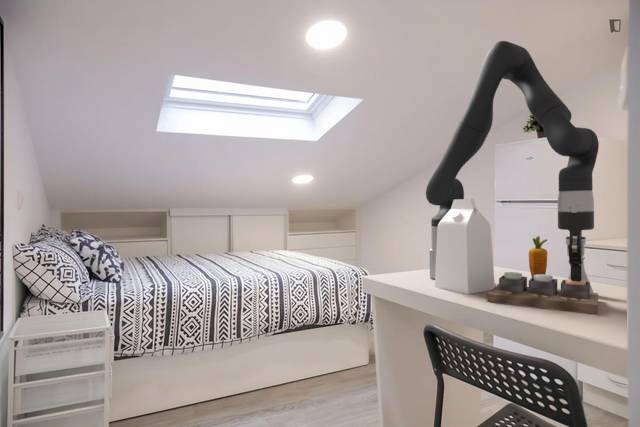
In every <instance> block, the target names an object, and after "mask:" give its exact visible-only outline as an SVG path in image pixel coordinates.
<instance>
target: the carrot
mask: <svg viewBox="0 0 640 427" xmlns="http://www.w3.org/2000/svg"><path fill="white" fill-rule="evenodd" d="M540 238H541V237H540V236H539V235H537V236H536V237H533V238H532V242H533V244H534V247H532V248H530V249H529V251H528V262H529V264H528V265H529V270H530V271H529V272H530V276H531V278H532V277H534V275H536V274H544V275H546V272H547V266H548V251H547V249H546V248H542V245H543V244H544V243H545V242H547V241H548V239H547V238H545V239H543V240H540Z"/></svg>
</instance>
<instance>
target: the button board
mask: <svg viewBox="0 0 640 427" xmlns="http://www.w3.org/2000/svg"><path fill="white" fill-rule="evenodd" d="M566 280H567V279H562V280H561V283H560V288H559V289H558V279H557V278H553V283H552V282H540V281H534V277H532V276H531V278H530V279H529V280H528V277H527V276H522V280H515V279H504V274H503V275H502V276H501V277H499V278H498V284H497V285H496V286H495V288H494V289H492V290H489V292H488V293H486V295H487V296H486V301H487V302H490V303H498V304H505V305H516V306H525V307H534V308H543V309H550V310H560V311H568V312H577V313H586V314H594V315H598V311H599V308H598V307H599V293H598V292H594V291H593V292H594V293H593V292H590V285H591V282H590V281H589V282H587V281H586V285H576V284H566Z"/></svg>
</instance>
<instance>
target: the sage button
mask: <svg viewBox="0 0 640 427" xmlns="http://www.w3.org/2000/svg"><path fill="white" fill-rule="evenodd" d="M503 275H504V279H515V280H522V277H523V273H521V272H516V271H511V272H510V271H507V272H504V274H503Z"/></svg>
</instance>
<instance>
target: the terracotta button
mask: <svg viewBox="0 0 640 427" xmlns="http://www.w3.org/2000/svg"><path fill="white" fill-rule="evenodd" d="M565 280H566V284H576V285H586V281H584V280H581V281H580V282H579V281H572V280H571V279H568V278H567V279H565Z"/></svg>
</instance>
